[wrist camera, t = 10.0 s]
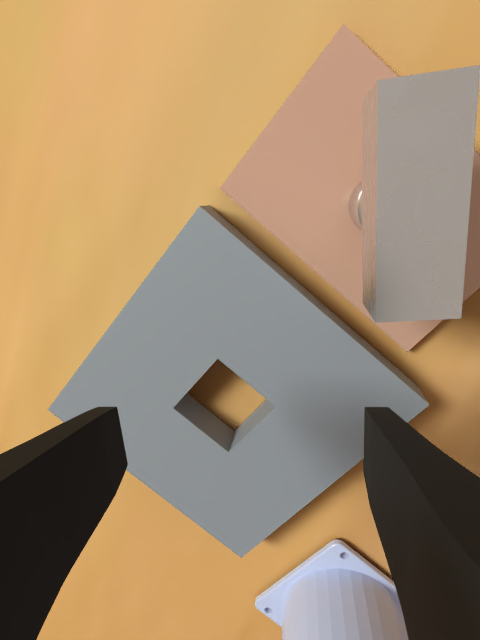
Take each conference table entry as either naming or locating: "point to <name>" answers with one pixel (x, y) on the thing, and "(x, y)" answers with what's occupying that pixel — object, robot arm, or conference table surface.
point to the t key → (416, 193)
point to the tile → (329, 176)
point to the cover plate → (249, 364)
